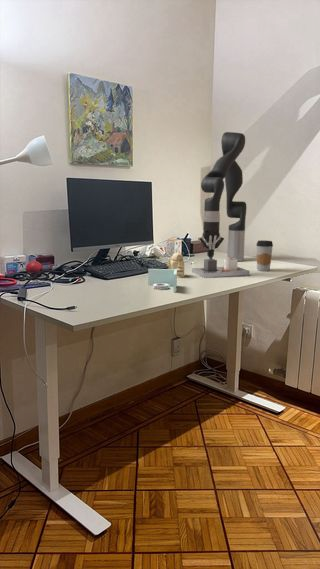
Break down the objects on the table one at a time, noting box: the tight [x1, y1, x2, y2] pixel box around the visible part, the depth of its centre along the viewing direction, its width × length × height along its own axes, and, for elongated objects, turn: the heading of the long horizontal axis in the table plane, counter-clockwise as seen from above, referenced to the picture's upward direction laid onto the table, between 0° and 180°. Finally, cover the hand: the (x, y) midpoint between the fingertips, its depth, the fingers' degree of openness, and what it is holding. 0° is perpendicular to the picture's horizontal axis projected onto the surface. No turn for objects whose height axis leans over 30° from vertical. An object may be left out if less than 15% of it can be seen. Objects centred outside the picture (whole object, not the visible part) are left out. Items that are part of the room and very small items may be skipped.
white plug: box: [223, 256, 238, 270], centre depth 226 cm, size 5×5×8 cm
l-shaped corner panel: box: [147, 268, 178, 293], centre depth 190 cm, size 12×12×8 cm
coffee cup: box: [256, 239, 274, 272], centre depth 237 cm, size 8×8×15 cm
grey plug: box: [203, 257, 218, 272], centre depth 222 cm, size 5×5×8 cm
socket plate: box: [191, 266, 250, 279], centre depth 224 cm, size 14×24×3 cm, turn 109°
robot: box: [166, 245, 188, 279], centre depth 214 cm, size 10×8×15 cm
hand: (210, 257), depth 221 cm, fingers closed, pressing on grey plug
